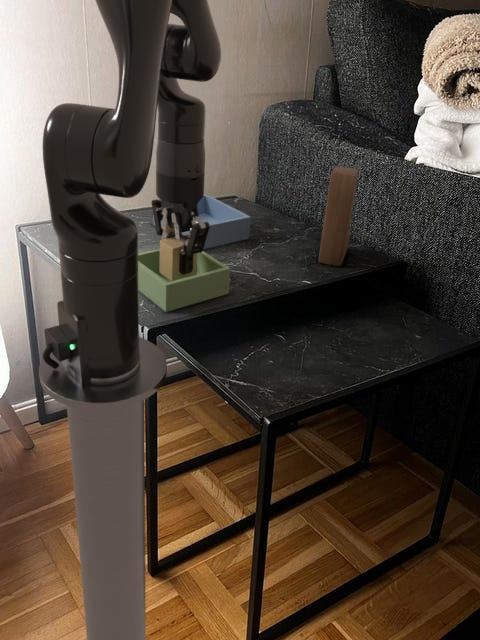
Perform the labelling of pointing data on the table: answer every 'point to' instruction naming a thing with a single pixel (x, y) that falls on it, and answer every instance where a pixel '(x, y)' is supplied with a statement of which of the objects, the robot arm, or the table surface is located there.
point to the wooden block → (338, 215)
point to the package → (173, 259)
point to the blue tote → (221, 222)
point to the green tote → (181, 281)
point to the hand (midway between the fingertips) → (178, 267)
